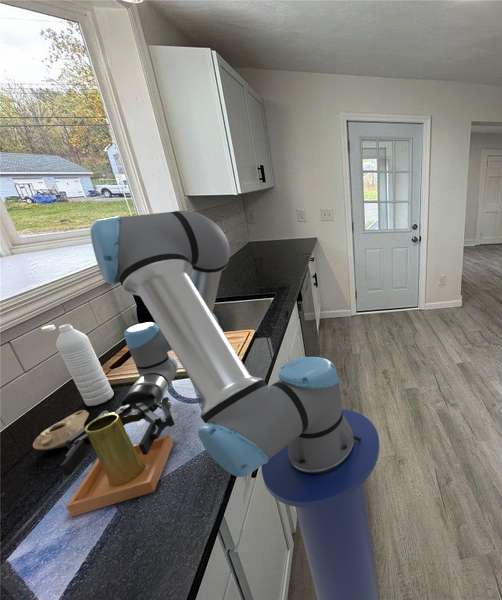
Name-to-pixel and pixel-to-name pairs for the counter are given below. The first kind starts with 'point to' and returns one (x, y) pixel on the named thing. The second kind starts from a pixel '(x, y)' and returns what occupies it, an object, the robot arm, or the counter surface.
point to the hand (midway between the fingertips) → (105, 459)
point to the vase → (114, 449)
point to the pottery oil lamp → (61, 432)
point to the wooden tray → (102, 494)
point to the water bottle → (82, 365)
